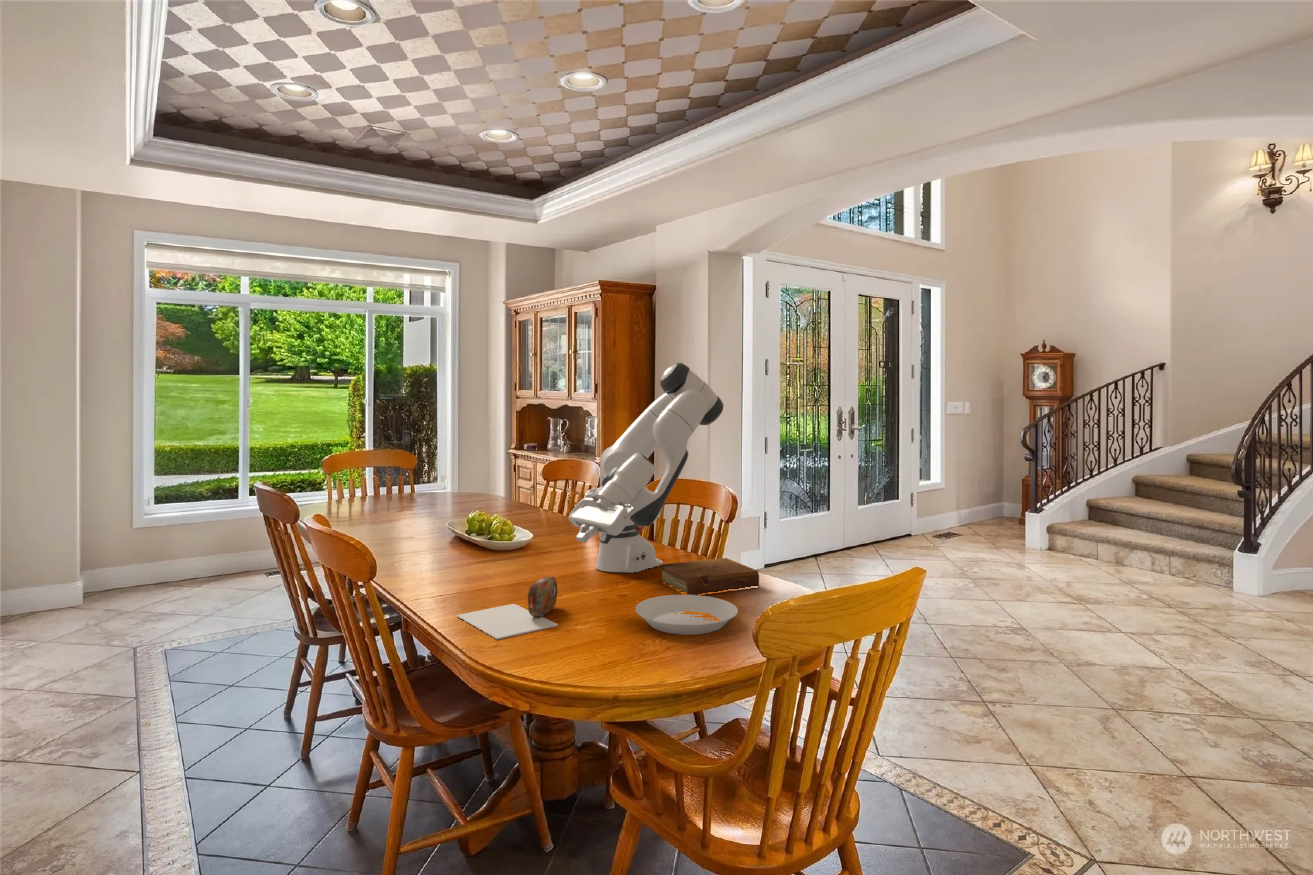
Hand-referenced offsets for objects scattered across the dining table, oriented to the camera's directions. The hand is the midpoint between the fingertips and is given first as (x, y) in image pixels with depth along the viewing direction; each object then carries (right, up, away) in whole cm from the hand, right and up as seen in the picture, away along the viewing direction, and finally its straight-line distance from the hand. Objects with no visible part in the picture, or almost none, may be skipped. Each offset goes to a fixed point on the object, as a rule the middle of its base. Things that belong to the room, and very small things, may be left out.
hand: (580, 540), depth 186 cm
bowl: (+27, -19, -11) cm, 35 cm away
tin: (-9, -18, -4) cm, 21 cm away
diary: (+35, -17, +24) cm, 46 cm away
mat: (-17, -18, -10) cm, 27 cm away
